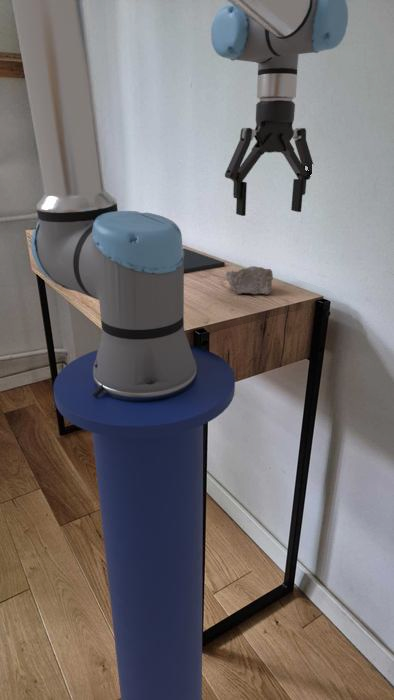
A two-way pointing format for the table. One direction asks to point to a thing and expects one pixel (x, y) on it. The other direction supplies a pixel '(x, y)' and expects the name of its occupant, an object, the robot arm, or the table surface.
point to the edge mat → (199, 261)
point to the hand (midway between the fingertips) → (269, 213)
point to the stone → (251, 280)
